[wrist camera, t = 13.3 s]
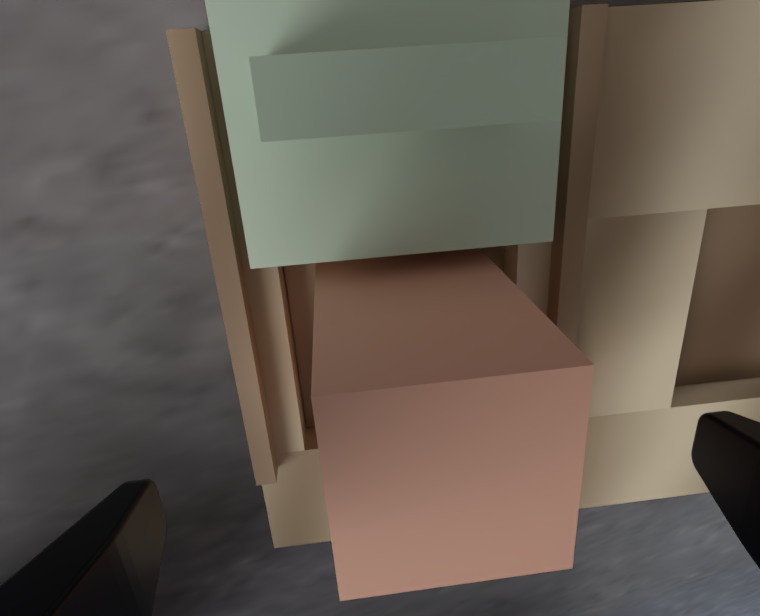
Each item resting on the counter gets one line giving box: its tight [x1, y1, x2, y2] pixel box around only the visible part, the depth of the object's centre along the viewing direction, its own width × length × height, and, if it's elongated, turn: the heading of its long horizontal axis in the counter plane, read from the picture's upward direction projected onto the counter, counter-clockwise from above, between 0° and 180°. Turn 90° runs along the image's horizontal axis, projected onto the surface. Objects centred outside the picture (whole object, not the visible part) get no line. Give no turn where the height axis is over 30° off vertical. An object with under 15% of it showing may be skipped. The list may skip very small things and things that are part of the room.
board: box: [165, 0, 760, 548], centre depth 14 cm, size 18×13×3 cm
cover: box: [205, 0, 570, 269], centre depth 9 cm, size 6×6×3 cm
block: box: [311, 248, 594, 601], centre depth 11 cm, size 4×4×6 cm
